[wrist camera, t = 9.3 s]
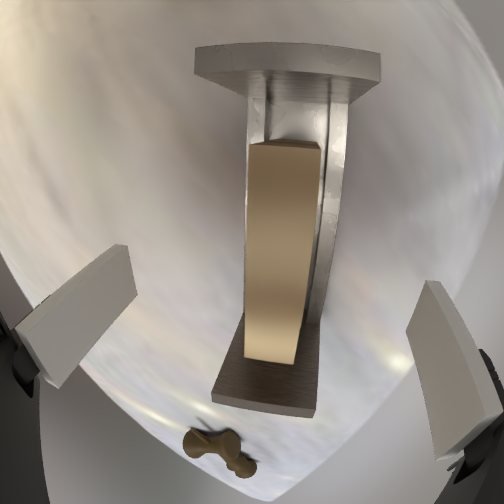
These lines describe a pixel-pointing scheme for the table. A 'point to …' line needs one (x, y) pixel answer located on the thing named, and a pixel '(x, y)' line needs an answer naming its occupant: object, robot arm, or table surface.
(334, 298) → the table surface
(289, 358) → the door panel
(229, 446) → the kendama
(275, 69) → the grey u-shaped piece
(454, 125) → the table surface
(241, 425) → the table surface
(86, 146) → the table surface
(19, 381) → the robot arm
